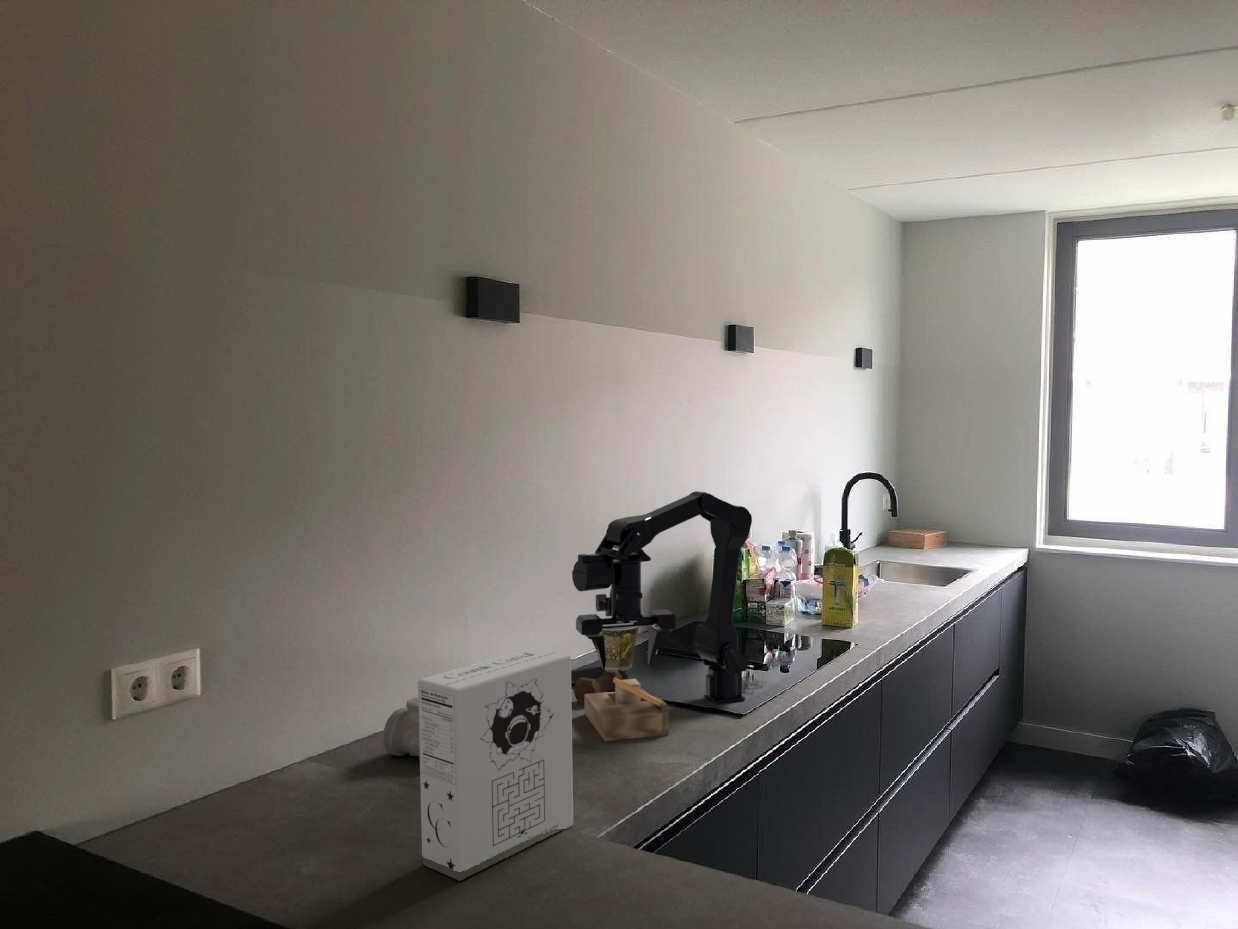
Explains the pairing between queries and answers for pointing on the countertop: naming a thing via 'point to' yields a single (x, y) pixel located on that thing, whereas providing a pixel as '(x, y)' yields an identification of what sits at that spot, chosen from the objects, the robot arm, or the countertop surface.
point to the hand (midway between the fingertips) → (626, 666)
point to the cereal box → (495, 755)
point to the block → (625, 717)
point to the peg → (627, 693)
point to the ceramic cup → (619, 647)
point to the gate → (638, 692)
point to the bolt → (597, 684)
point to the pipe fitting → (403, 730)
